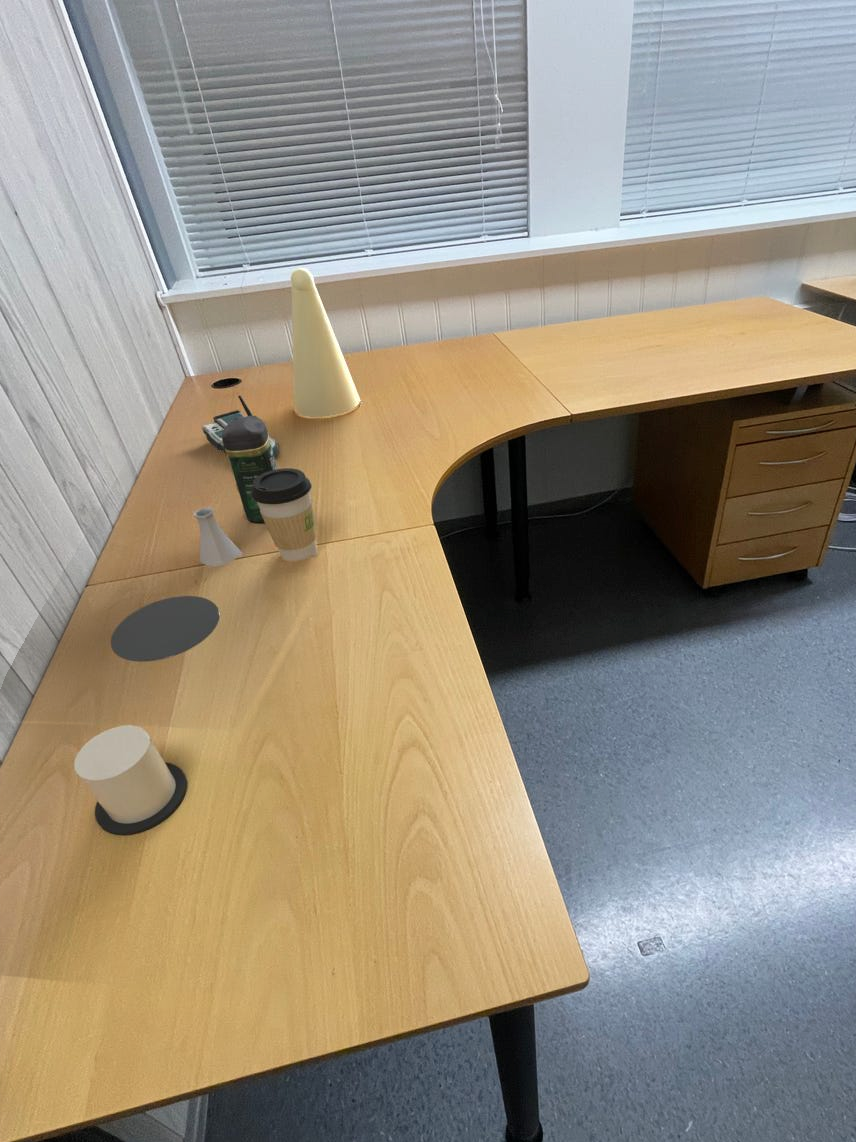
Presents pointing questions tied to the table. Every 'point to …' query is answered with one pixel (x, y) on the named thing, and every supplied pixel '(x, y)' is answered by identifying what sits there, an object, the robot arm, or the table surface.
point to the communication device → (222, 421)
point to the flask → (214, 540)
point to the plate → (165, 628)
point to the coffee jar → (248, 458)
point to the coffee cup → (287, 511)
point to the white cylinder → (125, 774)
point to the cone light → (317, 355)
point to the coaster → (153, 821)
